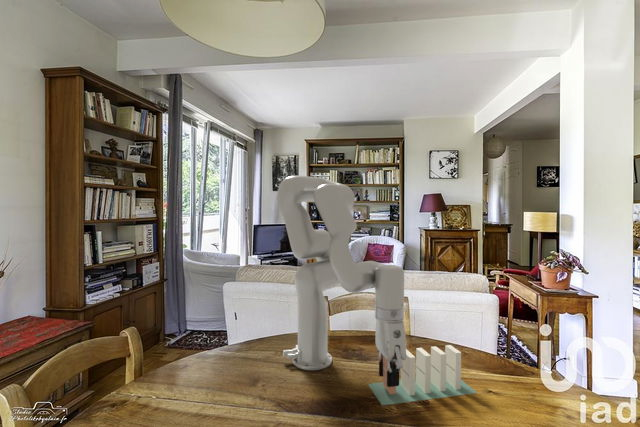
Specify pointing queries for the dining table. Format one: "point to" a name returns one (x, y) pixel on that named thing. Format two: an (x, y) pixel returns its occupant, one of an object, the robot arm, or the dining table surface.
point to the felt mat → (416, 393)
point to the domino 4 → (453, 367)
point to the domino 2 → (423, 370)
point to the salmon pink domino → (384, 379)
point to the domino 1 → (408, 373)
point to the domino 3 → (438, 368)
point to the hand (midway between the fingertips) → (388, 379)
